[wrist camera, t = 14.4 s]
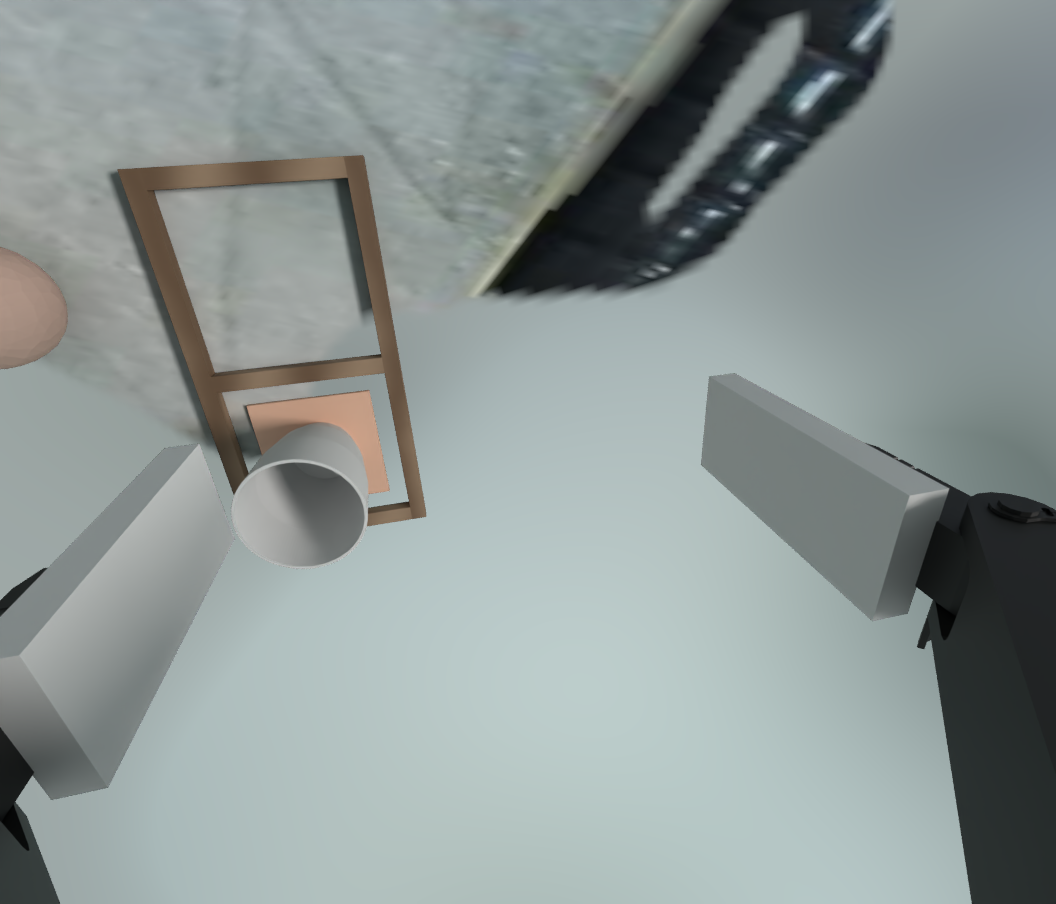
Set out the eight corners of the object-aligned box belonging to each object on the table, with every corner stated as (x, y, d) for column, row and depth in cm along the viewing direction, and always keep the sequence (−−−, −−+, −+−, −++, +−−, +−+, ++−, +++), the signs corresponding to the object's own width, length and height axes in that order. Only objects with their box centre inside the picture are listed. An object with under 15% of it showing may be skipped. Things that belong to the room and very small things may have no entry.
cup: (297, 507, 44) (270, 585, 35) (248, 422, 41) (204, 485, 32) (391, 475, 45) (387, 544, 36) (351, 389, 41) (335, 441, 32)
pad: (279, 505, 44) (278, 507, 44) (247, 404, 40) (246, 406, 40) (389, 489, 46) (389, 491, 45) (369, 389, 42) (368, 391, 41)
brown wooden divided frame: (254, 538, 45) (251, 544, 44) (125, 170, 33) (117, 169, 32) (425, 510, 47) (426, 516, 46) (364, 156, 35) (362, 155, 34)
